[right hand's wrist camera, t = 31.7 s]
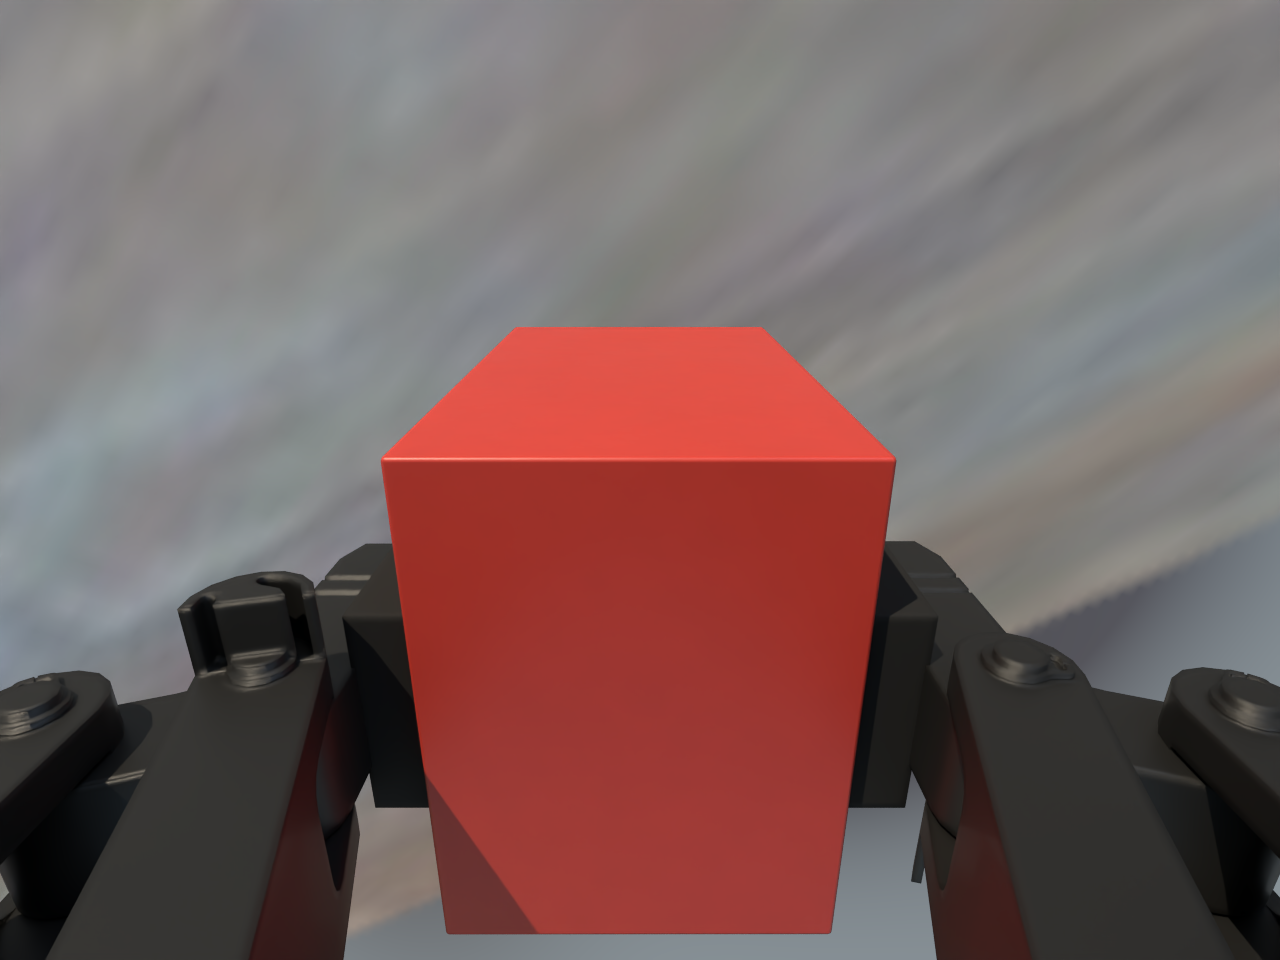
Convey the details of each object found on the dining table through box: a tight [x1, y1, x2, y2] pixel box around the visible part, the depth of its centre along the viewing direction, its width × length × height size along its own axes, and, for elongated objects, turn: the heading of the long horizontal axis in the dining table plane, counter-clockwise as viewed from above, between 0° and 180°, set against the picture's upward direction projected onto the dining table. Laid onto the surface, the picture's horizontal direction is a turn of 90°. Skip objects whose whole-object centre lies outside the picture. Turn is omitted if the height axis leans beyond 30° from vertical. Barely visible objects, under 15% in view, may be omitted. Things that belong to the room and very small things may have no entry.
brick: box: [381, 327, 896, 934], centre depth 12 cm, size 6×5×8 cm
